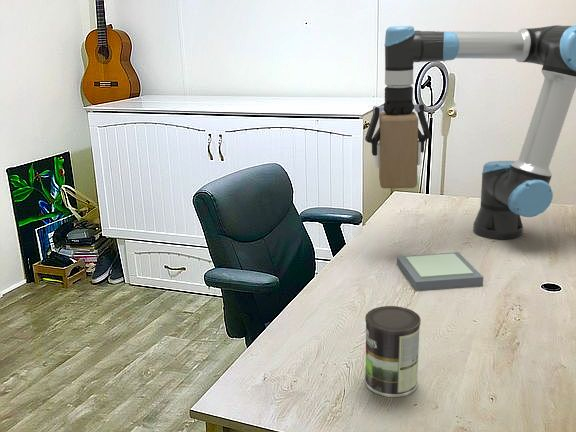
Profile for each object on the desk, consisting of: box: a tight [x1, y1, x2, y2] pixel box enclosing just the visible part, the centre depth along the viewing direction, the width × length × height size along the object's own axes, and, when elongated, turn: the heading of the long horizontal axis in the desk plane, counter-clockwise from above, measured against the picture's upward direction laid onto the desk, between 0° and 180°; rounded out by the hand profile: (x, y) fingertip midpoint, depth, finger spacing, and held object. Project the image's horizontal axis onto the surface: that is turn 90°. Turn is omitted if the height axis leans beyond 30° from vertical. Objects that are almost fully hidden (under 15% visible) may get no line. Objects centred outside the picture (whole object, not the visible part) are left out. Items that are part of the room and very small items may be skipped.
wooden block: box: [378, 110, 419, 189], centre depth 175 cm, size 10×10×20 cm
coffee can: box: [364, 305, 422, 398], centre depth 121 cm, size 10×10×14 cm
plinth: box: [396, 251, 484, 292], centre depth 171 cm, size 18×18×3 cm
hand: (397, 165), depth 177 cm, fingers closed on wooden block, 11 cm apart
